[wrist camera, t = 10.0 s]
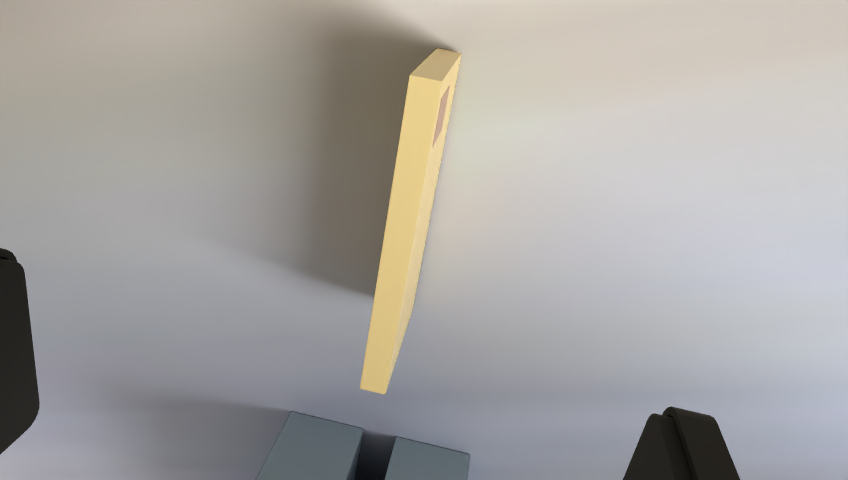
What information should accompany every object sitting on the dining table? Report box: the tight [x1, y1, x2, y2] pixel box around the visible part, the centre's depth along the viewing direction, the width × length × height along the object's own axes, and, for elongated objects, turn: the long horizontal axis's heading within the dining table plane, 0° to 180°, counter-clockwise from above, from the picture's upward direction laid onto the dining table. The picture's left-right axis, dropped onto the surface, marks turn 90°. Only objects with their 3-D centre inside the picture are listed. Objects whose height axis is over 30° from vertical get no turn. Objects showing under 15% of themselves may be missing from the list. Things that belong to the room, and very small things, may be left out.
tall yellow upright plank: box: [360, 48, 462, 394], centre depth 24 cm, size 1×12×6 cm, turn 170°
